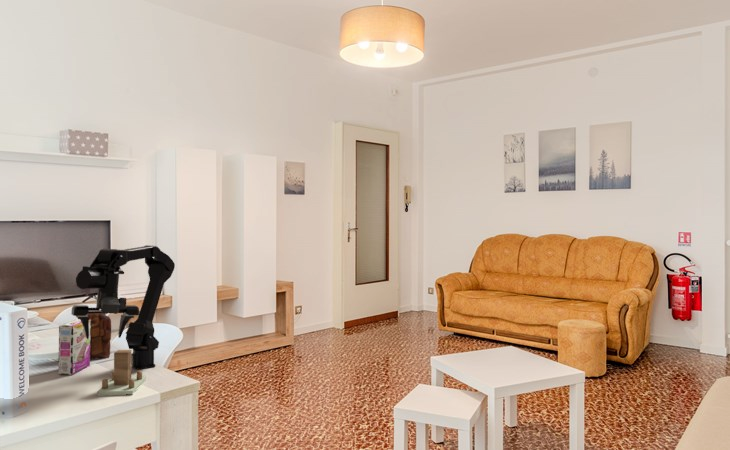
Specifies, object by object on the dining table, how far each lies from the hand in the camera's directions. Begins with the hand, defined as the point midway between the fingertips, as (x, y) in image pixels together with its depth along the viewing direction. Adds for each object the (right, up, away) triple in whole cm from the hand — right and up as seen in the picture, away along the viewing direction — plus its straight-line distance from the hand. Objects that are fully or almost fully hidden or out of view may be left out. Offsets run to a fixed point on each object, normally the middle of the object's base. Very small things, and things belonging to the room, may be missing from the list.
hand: (103, 338), depth 168 cm
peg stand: (+8, -14, -4) cm, 17 cm away
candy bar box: (-16, -14, +12) cm, 24 cm away
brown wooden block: (+8, -13, -4) cm, 16 cm away
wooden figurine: (-17, -13, +27) cm, 35 cm away
